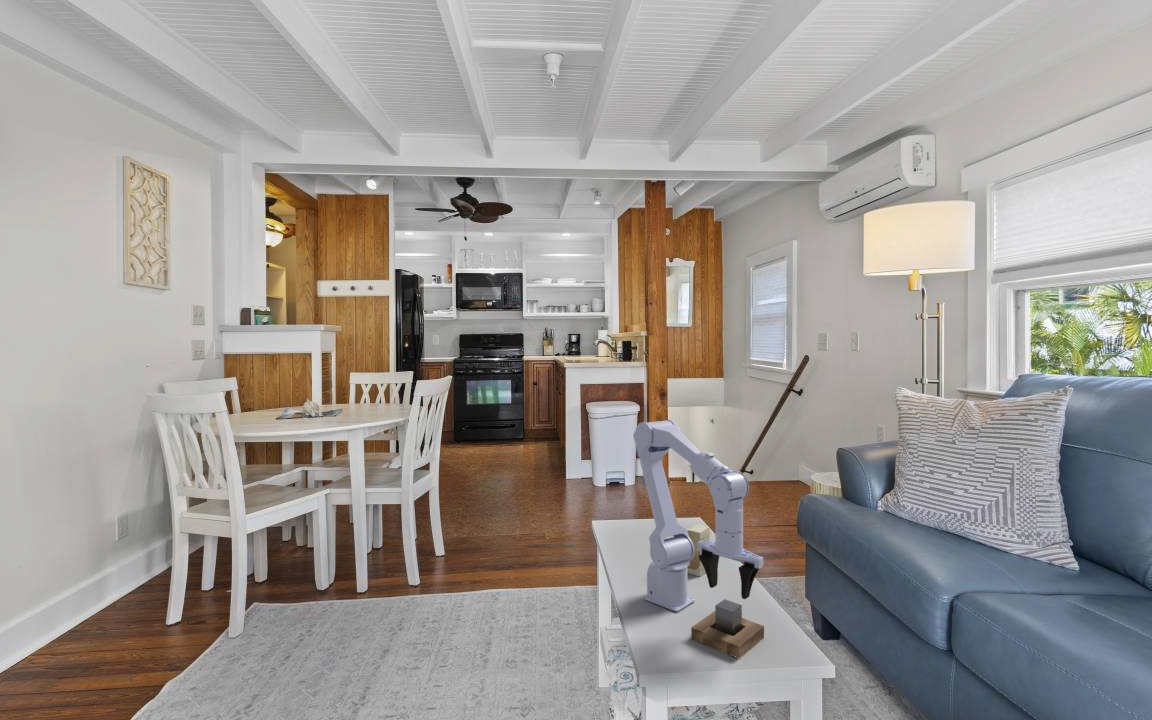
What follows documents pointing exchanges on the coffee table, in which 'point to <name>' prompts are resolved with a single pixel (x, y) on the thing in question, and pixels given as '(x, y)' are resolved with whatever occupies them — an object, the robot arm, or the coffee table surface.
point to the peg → (728, 617)
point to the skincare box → (696, 535)
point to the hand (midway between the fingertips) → (729, 591)
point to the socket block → (727, 636)
